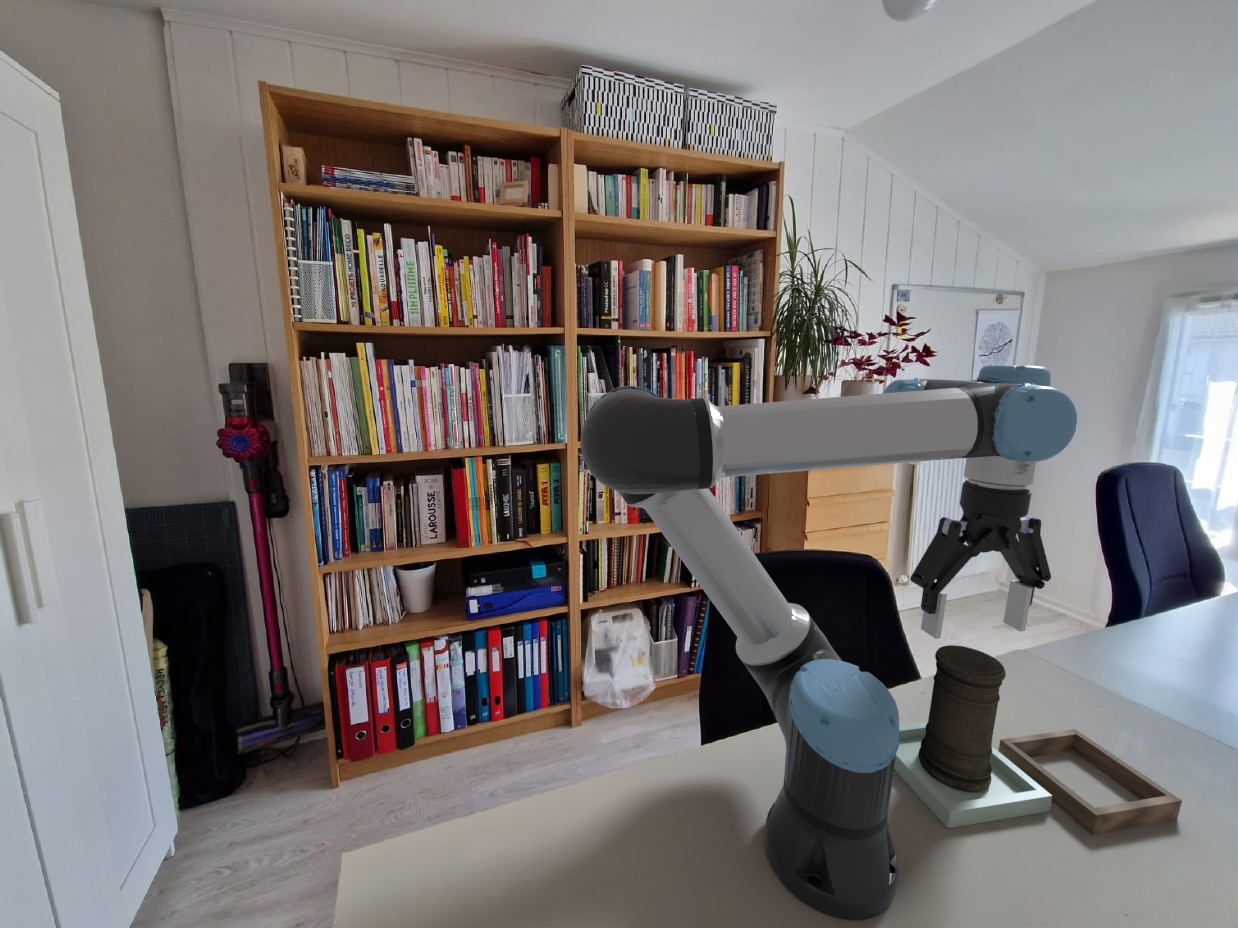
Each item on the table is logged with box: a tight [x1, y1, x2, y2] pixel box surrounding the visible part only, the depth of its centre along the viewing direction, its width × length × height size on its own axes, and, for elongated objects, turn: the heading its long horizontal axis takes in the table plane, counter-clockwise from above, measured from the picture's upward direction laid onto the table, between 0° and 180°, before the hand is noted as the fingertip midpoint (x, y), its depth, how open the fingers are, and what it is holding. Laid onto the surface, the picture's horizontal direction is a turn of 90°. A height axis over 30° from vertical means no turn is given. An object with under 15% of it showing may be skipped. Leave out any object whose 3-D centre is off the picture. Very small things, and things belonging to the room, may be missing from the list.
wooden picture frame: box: [998, 728, 1183, 836], centre depth 75 cm, size 14×14×3 cm
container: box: [919, 644, 1007, 792], centre depth 76 cm, size 9×9×18 cm
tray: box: [894, 721, 1052, 829], centre depth 77 cm, size 16×16×2 cm
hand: (972, 630), depth 73 cm, fingers open, 13 cm apart
